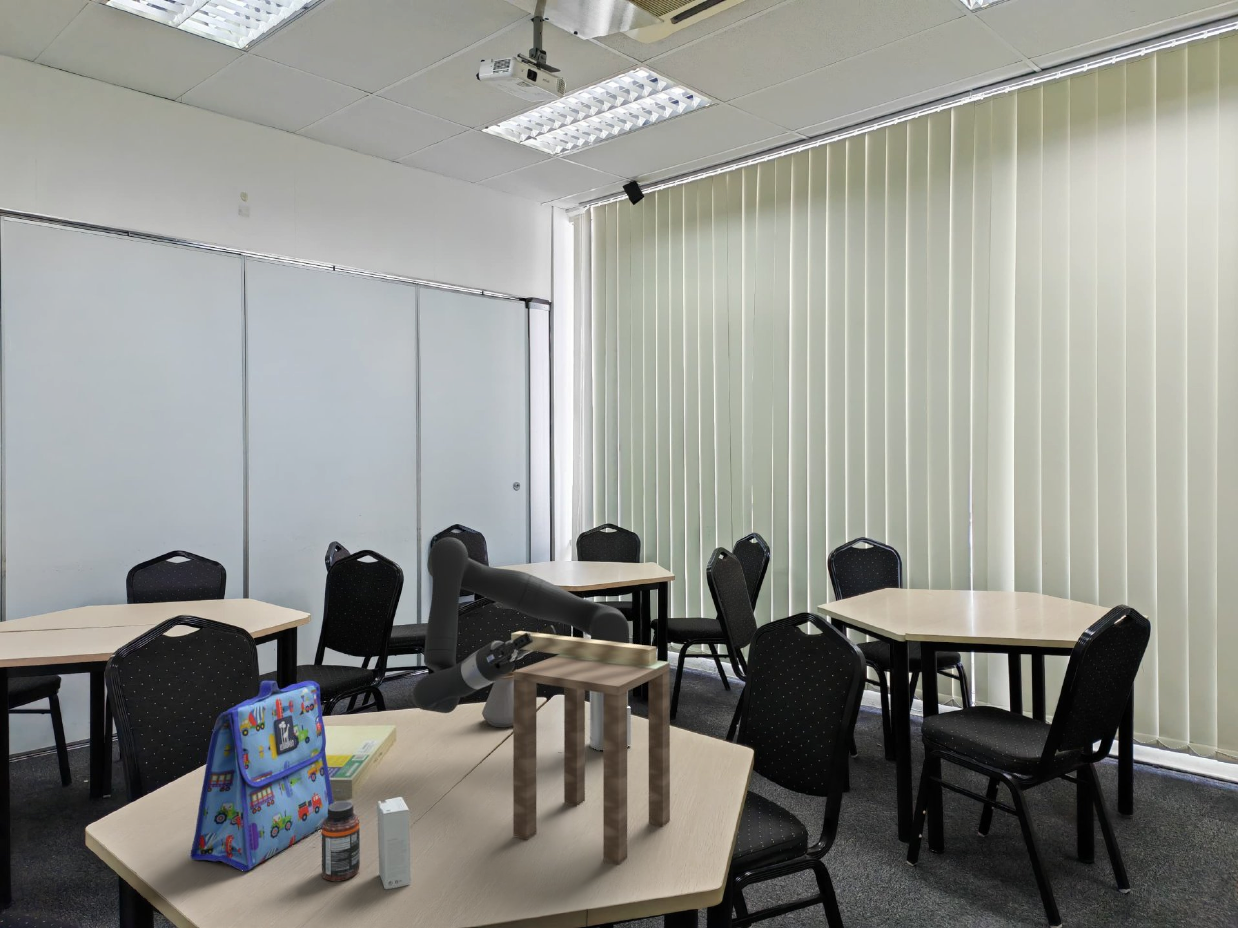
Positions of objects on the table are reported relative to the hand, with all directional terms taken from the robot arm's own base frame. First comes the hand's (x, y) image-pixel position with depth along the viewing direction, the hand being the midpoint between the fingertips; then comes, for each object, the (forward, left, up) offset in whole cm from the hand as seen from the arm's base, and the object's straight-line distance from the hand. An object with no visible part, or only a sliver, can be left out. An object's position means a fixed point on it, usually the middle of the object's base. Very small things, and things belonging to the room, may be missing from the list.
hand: (542, 633), depth 164 cm
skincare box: (+31, +23, -34) cm, 52 cm away
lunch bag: (+51, 0, -34) cm, 61 cm away
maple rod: (-6, +7, -3) cm, 10 cm away
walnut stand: (-5, +17, -33) cm, 38 cm away
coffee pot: (-9, -51, -34) cm, 62 cm away
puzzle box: (+41, -34, -34) cm, 64 cm away
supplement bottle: (+39, +18, -34) cm, 55 cm away
